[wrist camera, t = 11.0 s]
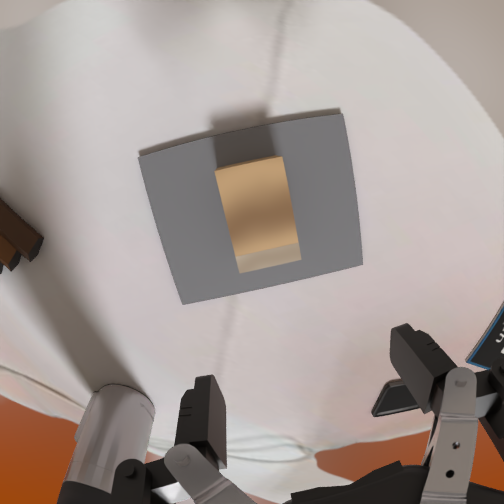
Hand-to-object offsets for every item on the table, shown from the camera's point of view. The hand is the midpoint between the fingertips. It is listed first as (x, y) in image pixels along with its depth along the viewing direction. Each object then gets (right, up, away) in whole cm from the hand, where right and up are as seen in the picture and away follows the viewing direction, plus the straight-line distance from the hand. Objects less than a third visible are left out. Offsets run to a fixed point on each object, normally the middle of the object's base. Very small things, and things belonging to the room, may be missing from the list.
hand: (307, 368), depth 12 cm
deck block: (-2, +9, +16) cm, 19 cm away
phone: (+25, -19, +29) cm, 43 cm away
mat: (-2, +9, +17) cm, 19 cm away
